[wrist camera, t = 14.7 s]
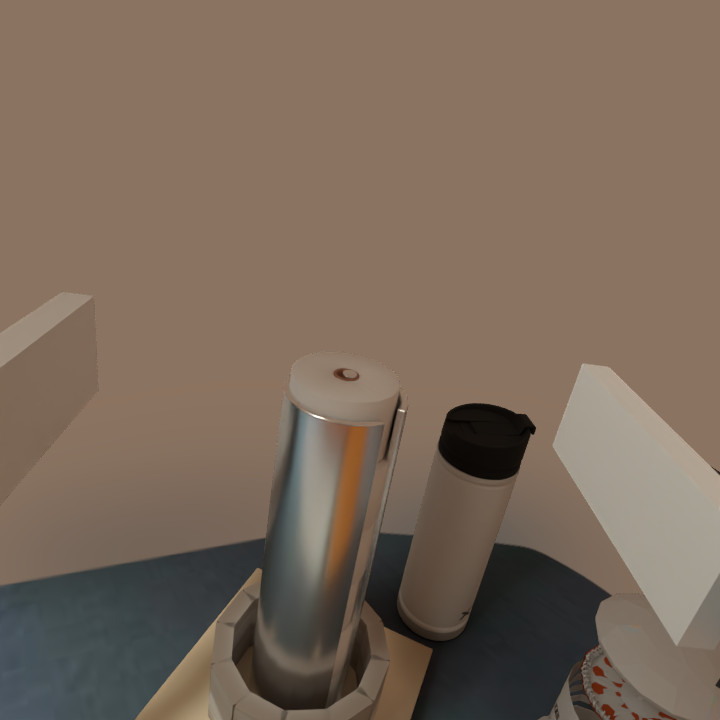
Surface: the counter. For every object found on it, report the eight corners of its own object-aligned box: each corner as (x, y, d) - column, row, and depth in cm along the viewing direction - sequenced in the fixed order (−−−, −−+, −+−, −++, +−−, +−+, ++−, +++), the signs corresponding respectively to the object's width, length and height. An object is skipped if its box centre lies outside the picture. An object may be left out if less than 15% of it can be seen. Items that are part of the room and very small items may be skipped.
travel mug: (479, 642, 46) (552, 444, 37) (403, 642, 44) (461, 438, 36) (458, 583, 51) (517, 399, 43) (390, 581, 50) (437, 392, 42)
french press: (488, 733, 39) (610, 442, 29) (611, 695, 43) (755, 430, 33) (580, 909, 31) (798, 591, 20) (721, 841, 35) (959, 549, 25)
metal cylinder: (258, 753, 34) (305, 409, 24) (240, 659, 39) (273, 346, 29) (354, 725, 36) (435, 402, 26) (325, 640, 42) (383, 346, 31)
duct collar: (117, 756, 34) (114, 688, 31) (256, 580, 48) (262, 523, 45) (350, 903, 29) (370, 839, 27) (428, 662, 43) (447, 604, 40)
